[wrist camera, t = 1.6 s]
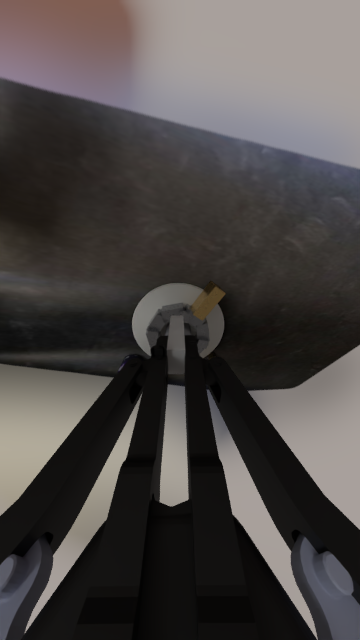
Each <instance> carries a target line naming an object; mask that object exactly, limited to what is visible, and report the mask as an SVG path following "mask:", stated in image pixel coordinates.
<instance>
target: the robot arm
mask: <svg viewBox="0 0 360 640" xmlns="http://www.w3.org/2000/svg"><path fill="white" fill-rule="evenodd" d="M150 351H151V358H150V359H148V360H145V361H142V360H141V359H139V358H132V359H130V360H128V361H127V362H126V363H125V364H124V366H123V367H122V368H121V370H120V371H119V372H118V373H117V375H116V376H115V377H114V378H113V380H112V381H111V382H110V384H109V385H108V386H107V387H106V389H105V390H104V391H103V392H102V394H101V395H100V396H99V398H98V399H97V400H96V401H95V402H94V404H93V405H92V406H91V408H90V409H89V410H88V411H87V413H86V414H85V415H84V416H83V418H82V419H81V420H80V422H79V423H78V424H77V426H76V427H75V428H74V429H73V430H72V432H71V433H70V434H69V436H68V437H67V438H66V439H65V441H64V442H63V443H62V445H61V446H60V447H59V448H58V449H57V451H56V452H55V453H54V455H53V456H52V457H51V458H50V460H49V461H48V462H47V464H46V465H45V466H44V467H43V469H42V470H41V471H40V472H39V474H38V475H37V476H36V477H35V479H34V480H33V481H32V483H31V484H30V485H29V486H28V488H27V489H26V490H25V491H24V493H23V494H22V495H21V496H20V498H19V499H18V500H17V501H16V502H15V503H14V504H13V505H11V506H10V507H9V508H8V509H7V510H6V511H5V512H4V513H3V514H2V515H1V516H0V640H317V639H316V637H315V636H314V634H313V633H312V631H311V630H310V628H309V627H308V625H307V623H306V622H305V620H304V619H303V617H302V616H301V614H300V613H299V611H298V610H297V608H296V607H295V605H294V604H293V602H292V601H291V599H290V598H289V596H288V595H287V593H286V591H285V590H284V588H283V587H282V585H281V584H280V582H279V581H278V579H277V578H276V576H275V575H274V573H273V572H272V570H271V569H270V567H269V566H268V564H267V562H266V561H265V559H264V558H263V556H262V555H261V553H260V552H259V550H258V549H257V547H256V546H255V544H254V543H253V541H252V540H251V538H250V537H249V535H248V533H247V532H246V531H245V529H244V528H243V526H242V525H241V524H240V522H239V521H238V520H237V519H236V518H235V517H234V516H233V515H232V510H231V505H230V500H229V495H228V489H227V484H226V479H225V474H224V469H223V465H222V462H221V461H220V459H219V456H218V451H217V445H216V440H215V434H214V429H213V423H212V418H211V412H210V407H209V402H208V396H207V390H206V385H207V386H208V388H209V390H210V392H211V395H212V396H213V399H214V400H215V403H216V405H217V407H218V409H219V411H220V413H221V415H222V417H223V419H224V421H225V423H226V426H227V427H228V430H229V432H230V434H231V436H232V438H233V440H234V442H235V444H236V446H237V448H238V450H239V452H240V455H241V457H242V459H243V461H244V463H245V465H246V467H247V469H248V471H249V473H250V475H251V477H252V479H253V481H254V483H255V486H256V488H257V490H258V492H259V494H260V496H261V498H262V500H263V502H264V504H265V506H266V508H267V510H268V512H269V514H270V516H271V518H272V520H273V522H274V524H275V526H276V527H277V529H278V531H279V532H280V534H281V536H282V537H283V539H284V541H285V542H286V544H287V546H288V547H289V549H290V550H291V566H292V571H293V575H294V578H295V581H296V583H297V586H298V587H299V590H300V592H301V593H302V596H303V598H304V600H305V602H306V604H307V606H308V608H309V610H310V613H311V615H312V618H313V621H314V624H315V628H316V632H317V637H318V640H360V530H359V529H358V528H357V527H356V526H355V525H354V524H353V523H352V522H351V521H350V520H349V519H348V518H347V517H346V516H345V515H344V514H343V513H342V512H341V511H340V510H339V509H338V508H337V507H336V506H335V505H334V504H333V503H332V502H331V501H330V500H329V499H328V498H327V497H326V496H325V495H324V494H323V493H322V491H321V490H320V489H319V487H318V486H317V485H316V483H315V482H314V481H313V479H312V478H311V477H310V475H309V474H308V472H307V471H306V470H305V468H304V467H303V466H302V464H301V463H300V462H299V460H298V459H297V458H296V456H295V455H294V453H293V452H292V451H291V449H290V448H289V447H288V445H287V444H286V443H285V441H284V440H283V439H282V437H281V436H280V435H279V433H278V432H277V430H276V429H275V428H274V427H273V425H272V424H271V422H270V421H269V420H268V418H267V417H266V416H265V414H264V413H263V412H262V410H261V409H260V407H259V406H258V405H257V403H256V402H255V401H254V400H253V398H252V397H251V395H250V394H249V393H248V391H247V390H246V388H245V387H244V386H243V384H242V383H241V382H240V380H239V379H238V378H237V376H236V375H235V374H234V372H233V371H232V370H231V368H230V367H229V365H228V364H227V363H226V361H225V360H224V359H222V358H220V357H213V358H211V359H210V360H207V359H204V358H202V357H201V356H200V355H199V353H198V347H197V342H196V337H195V336H194V335H184V319H183V316H171V318H170V326H169V335H168V336H159V337H158V338H157V342H156V345H155V346H153V347H151V349H150ZM168 374H185V400H186V429H187V457H188V489H189V490H188V491H189V500H188V501H185V502H182V503H180V504H178V505H175V506H173V507H170V506H167V505H165V504H162V503H160V502H159V500H160V475H161V462H162V448H163V436H164V424H165V411H166V399H167V386H168ZM205 384H206V385H205ZM142 392H143V393H142ZM141 394H142V397H141V401H140V405H139V410H138V414H137V418H136V422H135V426H134V430H133V434H132V438H131V443H130V447H129V450H128V455H127V458H126V460H125V461H124V462H123V464H122V466H121V468H120V472H119V475H118V479H117V483H116V487H115V491H114V494H113V498H112V502H111V506H110V509H109V513H108V517H107V520H106V521H105V522H104V523H103V524H102V526H101V527H100V528H99V529H98V531H97V532H96V534H95V535H94V536H93V538H92V539H91V541H90V542H89V543H88V545H87V546H86V548H85V549H84V551H83V552H82V553H81V555H80V556H79V558H78V559H77V560H76V562H75V564H74V565H73V566H72V568H71V569H70V570H69V572H68V573H67V575H66V576H65V577H64V579H63V580H62V582H61V583H60V585H59V586H58V587H57V589H56V590H55V592H54V593H53V594H52V596H51V597H50V599H49V600H48V602H47V603H46V604H45V606H44V607H43V609H42V610H41V611H40V613H39V614H38V616H37V617H36V619H35V620H34V622H33V623H32V624H31V626H30V627H29V629H28V630H27V631H26V633H25V634H24V632H25V629H26V626H27V623H28V621H29V618H30V616H31V613H32V611H33V609H34V607H35V605H36V603H37V602H38V600H39V598H40V596H41V594H42V593H43V591H44V589H45V588H46V585H47V583H48V581H49V577H50V574H51V570H52V566H53V554H54V553H55V552H56V550H57V549H58V548H59V546H60V545H61V543H62V541H63V540H64V538H65V537H66V535H67V534H68V532H69V530H70V529H71V527H72V525H73V524H74V522H75V520H76V518H77V516H78V514H79V513H80V511H81V509H82V507H83V505H84V503H85V501H86V499H87V497H88V495H89V493H90V492H91V490H92V488H93V486H94V484H95V482H96V480H97V478H98V476H99V475H100V472H101V471H102V469H103V467H104V465H105V463H106V461H107V459H108V457H109V455H110V453H111V451H112V450H113V448H114V446H115V443H116V442H117V440H118V438H119V436H120V433H121V432H122V430H123V428H124V426H125V425H126V423H127V421H128V419H129V417H130V415H131V413H132V411H133V409H134V407H135V405H136V403H137V401H138V400H139V398H140V396H141Z"/></svg>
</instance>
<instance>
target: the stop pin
mask: <svg viewBox="0 0 360 640" xmlns="http://www.w3.org/2000/svg"><path fill="white" fill-rule="evenodd" d="M208 357H209V360H210V359H211V358H213V357H216V355H215V353H213V352H211V353H210V354H208Z"/></svg>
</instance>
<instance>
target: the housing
mask: <svg viewBox="0 0 360 640" xmlns="http://www.w3.org/2000/svg"><path fill="white" fill-rule="evenodd" d="M202 291H203V289H202V288H200V287H197V286H195V285H192V284H187V283H169V284H165V285H161V286H159V287H156V288H155V289H153V290H151V291H150V292H149V293H147V294H146V295H145V296H144V297H143V298H142V300H141V301H140V302H139V304H138V305H137V307H136V309H135V311H134V315H133V319H132V329H133V334H134V337H135V339H136V341H137V343H138V344H139V346H140V347H141V348H142V350H143V351H145V352H146V353H147V354H148V355H149V356H151V351H150V349H151V348H150V345H149V342H148V339H147V336H146V331H147V330H146V329H147V326H148V324H149V322H150V321H151V319H152V318H153V316H154V315H155V313H156V312H157V310H158V309H162V306H166V305H171V304H177V303H183V307H185V306H186V304H189V305H190V306H192V304H193V303H194V302H195V300H196V299H197V298H198V297H199V295H200V294H201V293H202ZM206 320H207V323H208V329H209V338H210V341H209V343H208V344H209V345H208V346H207V348H206V349H204V350H203V351H202V352H201V353H200V354H199V355H200V356H201V357H202V358H204V357H206V356H207V355H208V354H210V353H211V352H212V351H213V350H214V349H215V348H216V347H217V345H218V344H219V342H220V340H221V338H222V335H223V331H224V317H223V314H222V311H221V309H220V307H219V305H218V304H217V305H216V306H215V307H214V308H213V309H212V310H211V312H210V313H209V314H208V315H207V316H206ZM169 326H170V322H166V323H165V325H164V326H163V328H162V329H161V330H160V331H161V334H162V336H168V335H169ZM196 334H197V333H196V328H195V327H194V326H192V325H191V324H189V323H184V335H194V336H195V335H196Z"/></svg>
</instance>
